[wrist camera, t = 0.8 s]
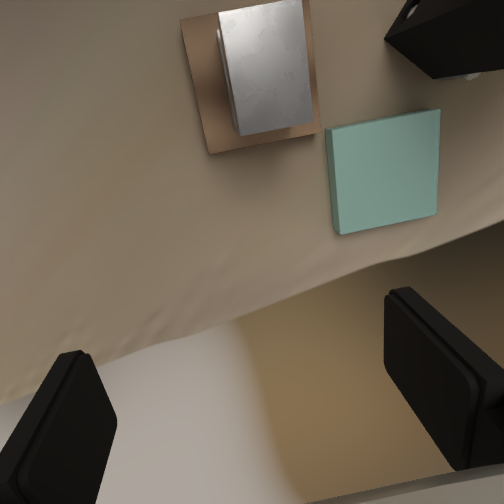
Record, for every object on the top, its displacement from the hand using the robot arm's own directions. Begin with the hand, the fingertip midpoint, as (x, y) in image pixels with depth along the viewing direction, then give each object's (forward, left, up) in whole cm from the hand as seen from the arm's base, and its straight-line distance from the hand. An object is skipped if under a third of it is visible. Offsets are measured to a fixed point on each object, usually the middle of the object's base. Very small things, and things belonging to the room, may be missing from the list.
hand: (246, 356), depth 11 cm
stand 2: (+1, +16, -24) cm, 29 cm away
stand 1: (-9, +5, -24) cm, 26 cm away
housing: (-9, +5, -22) cm, 24 cm away
